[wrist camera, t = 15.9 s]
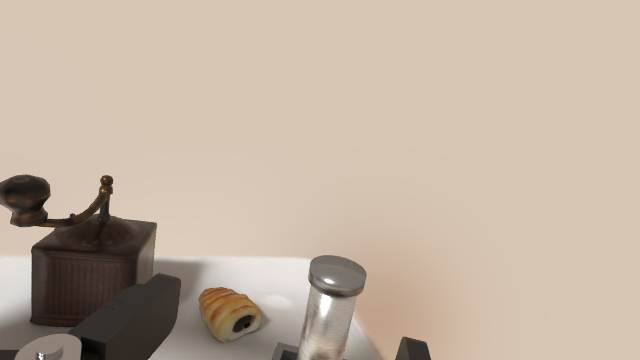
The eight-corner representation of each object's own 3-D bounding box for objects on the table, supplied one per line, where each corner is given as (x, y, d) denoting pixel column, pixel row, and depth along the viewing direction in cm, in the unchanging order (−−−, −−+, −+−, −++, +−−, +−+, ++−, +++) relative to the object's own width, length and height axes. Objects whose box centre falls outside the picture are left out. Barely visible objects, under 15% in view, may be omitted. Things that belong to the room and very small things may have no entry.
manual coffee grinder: (67, 276, 48) (70, 148, 44) (154, 281, 50) (164, 160, 47) (-13, 360, 33) (-19, 178, 29) (115, 360, 36) (125, 193, 32)
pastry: (184, 306, 46) (187, 281, 46) (229, 294, 51) (232, 270, 50) (219, 349, 40) (223, 320, 39) (266, 330, 45) (271, 304, 44)
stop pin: (276, 429, 30) (305, 274, 27) (288, 387, 35) (314, 251, 32) (330, 444, 30) (366, 289, 27) (335, 399, 35) (366, 262, 31)
